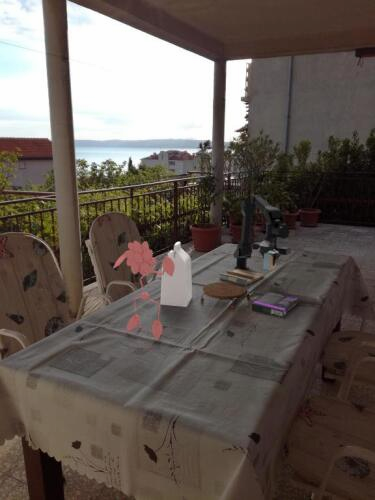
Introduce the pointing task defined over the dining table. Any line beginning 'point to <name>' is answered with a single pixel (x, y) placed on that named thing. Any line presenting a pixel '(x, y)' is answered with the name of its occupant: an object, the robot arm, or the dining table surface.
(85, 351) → the dining table surface
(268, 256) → the carton
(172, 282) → the milk
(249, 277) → the shelf
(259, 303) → the box
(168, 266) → the figurine
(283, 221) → the robot arm
